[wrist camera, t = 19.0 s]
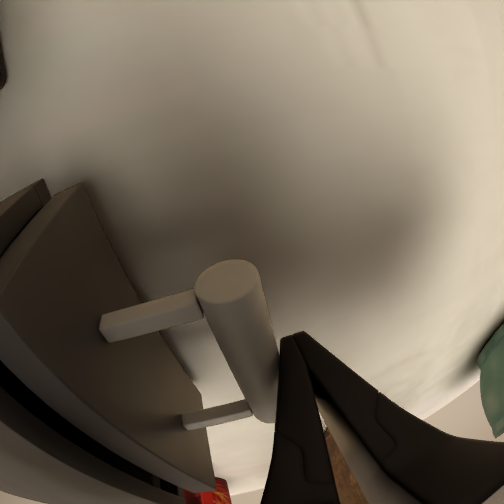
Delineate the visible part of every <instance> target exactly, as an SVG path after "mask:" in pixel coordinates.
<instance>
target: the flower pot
mask: <svg viewBox="0 0 504 504" xmlns="http://www.w3.org/2000/svg"><path fill="white" fill-rule="evenodd" d="M477 364H478V366H479V368H480V370H481V373H480V390H481V399H482V405H483V408H484V412H485V415H486V417H487V420H488V422H489V424H490V426H491V427H492V430H493V435H494V436H495V438H497V437H498V436H500V435H501V434H503V433H504V323H503V325H502V326H501V327H500V328H499V329H498V330H497V331H495V333H494V335H493V336H492V338H491V339H490V340H489V341H488V343H487V344H486V345H485V347H484V348H483V350H482V351H481V353H480V355H479V357H478V359H477Z"/></svg>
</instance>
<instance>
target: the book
mask: <svg viewBox="0 0 504 504" xmlns="http://www.w3.org/2000/svg"><path fill="white" fill-rule="evenodd" d="M324 435H325V440H326V444H327V448H328V452H329V457H330V461H331V465H332V470H333V474H334V478H335V484H336V487H337V491H338V495H339V499H340V503H341V504H369V503H368V501H367V499H366V498H365V496H364V494H363V492H362V490H361V487H360V486H359V485H358V483H357V481H356V479H355V477H354V475H353V474H352V472H351V470H350V468H349V466H348V464H347V462H346V461H345V459H344V457H343V455H342V453H341V451H340V449H339V448H338V446H337V444H336V442H335V440H334V438H333V436H332V434H331V433H330V431H329V429H327V431H326V432H325V433H324Z"/></svg>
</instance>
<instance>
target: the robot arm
mask: <svg viewBox="0 0 504 504" xmlns="http://www.w3.org/2000/svg"><path fill="white" fill-rule="evenodd" d="M5 77H6V71H5V67H4V62H3V56H2V50H1V44H0V88H1V87H2V85H3V84H4V82H5ZM318 410H319V411H318ZM319 412H320V414H321V416H322V417H323V419H324V421H325V423H326V425H327V427H328V429H329V431H330V433H331V434H332V436H333V438H334V440H335V442H336V444H337V446H338V448H339V449H340V451H341V453H342V455H343V457H344V459H345V461H346V462H347V464H348V466H349V468H350V470H351V472H352V474H353V475H354V477H355V479H356V481H357V483H358V485H359V486H360V487H361V490H362V492H363V494H364V496H365V498H366V499H367V501H368V503H369V504H504V442H494V441H484V440H476V439H467V438H460V437H456V436H453V435H449V434H447V433H445V432H443V431H441V430H439V429H437V428H435V427H434V426H432V425H430V424H428V423H426V422H425V421H423V420H421V419H419V418H417V417H416V416H414V415H412V414H411V413H409V412H407V411H406V410H404V409H402V408H401V407H399V406H398V405H397V404H395V403H394V402H392V401H391V400H390V399H388V398H387V397H386V396H384V395H383V394H382V393H381V392H379V393H378V390H377V389H375V388H374V387H373V386H372V385H370V384H369V383H368V382H367V381H365V380H364V379H363V378H362V377H360V376H359V375H358V374H357V373H355V372H354V371H353V370H352V369H350V368H349V367H348V366H347V365H345V364H344V363H343V362H342V361H340V360H339V359H338V358H337V357H335V356H334V355H333V354H332V353H331V352H329V351H328V350H327V349H326V348H324V347H323V346H322V345H321V344H319V343H318V342H317V341H316V340H315V339H313V338H312V337H311V336H310V335H309V334H307V333H306V332H305V331H300V332H298V333H295V334H293V335H289V336H286V337H283V338H281V339H280V355H279V373H278V389H277V405H276V419H275V432H274V443H273V451H272V459H271V464H270V468H269V473H268V477H267V481H266V485H265V489H264V492H263V496H262V500H261V503H260V504H341V503H340V499H339V495H338V491H337V487H336V484H335V478H334V474H333V470H332V465H331V461H330V457H329V452H328V448H327V444H326V440H325V435H324V431H323V427H322V423H321V419H320V415H319Z"/></svg>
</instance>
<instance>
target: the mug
mask: <svg viewBox="0 0 504 504" xmlns="http://www.w3.org/2000/svg"><path fill="white" fill-rule="evenodd" d="M215 482H216V487H217V490H214V491H207V492H199V493H192V492H190V491H188V490H185V489H184V495H185V500H186V504H231V499H230V495H229V490H228V486H227V482H226V480H224V479H220V478H215Z"/></svg>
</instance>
